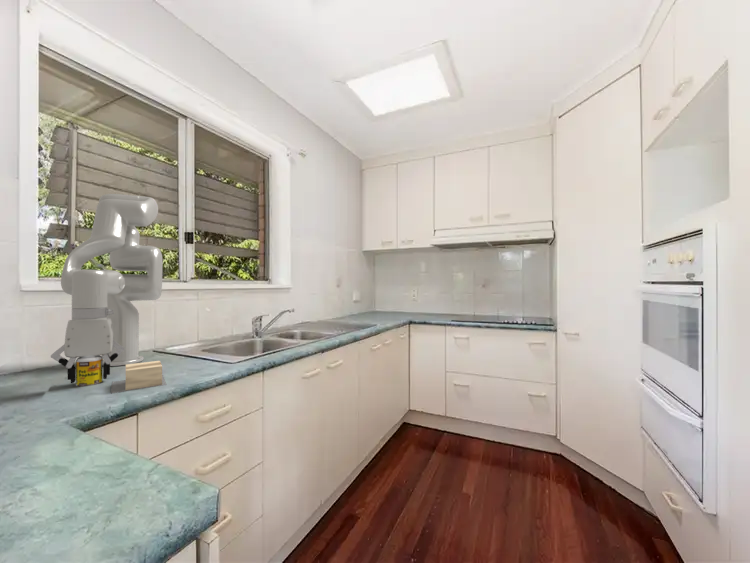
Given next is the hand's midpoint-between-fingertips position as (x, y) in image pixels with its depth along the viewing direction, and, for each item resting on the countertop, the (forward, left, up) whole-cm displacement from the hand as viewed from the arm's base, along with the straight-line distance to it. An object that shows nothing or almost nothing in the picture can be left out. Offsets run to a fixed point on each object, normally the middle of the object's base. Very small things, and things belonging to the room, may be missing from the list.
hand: (89, 379), depth 92 cm
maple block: (+9, +12, -1) cm, 15 cm away
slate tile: (+8, +11, -2) cm, 14 cm away
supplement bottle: (0, 0, -2) cm, 2 cm away
